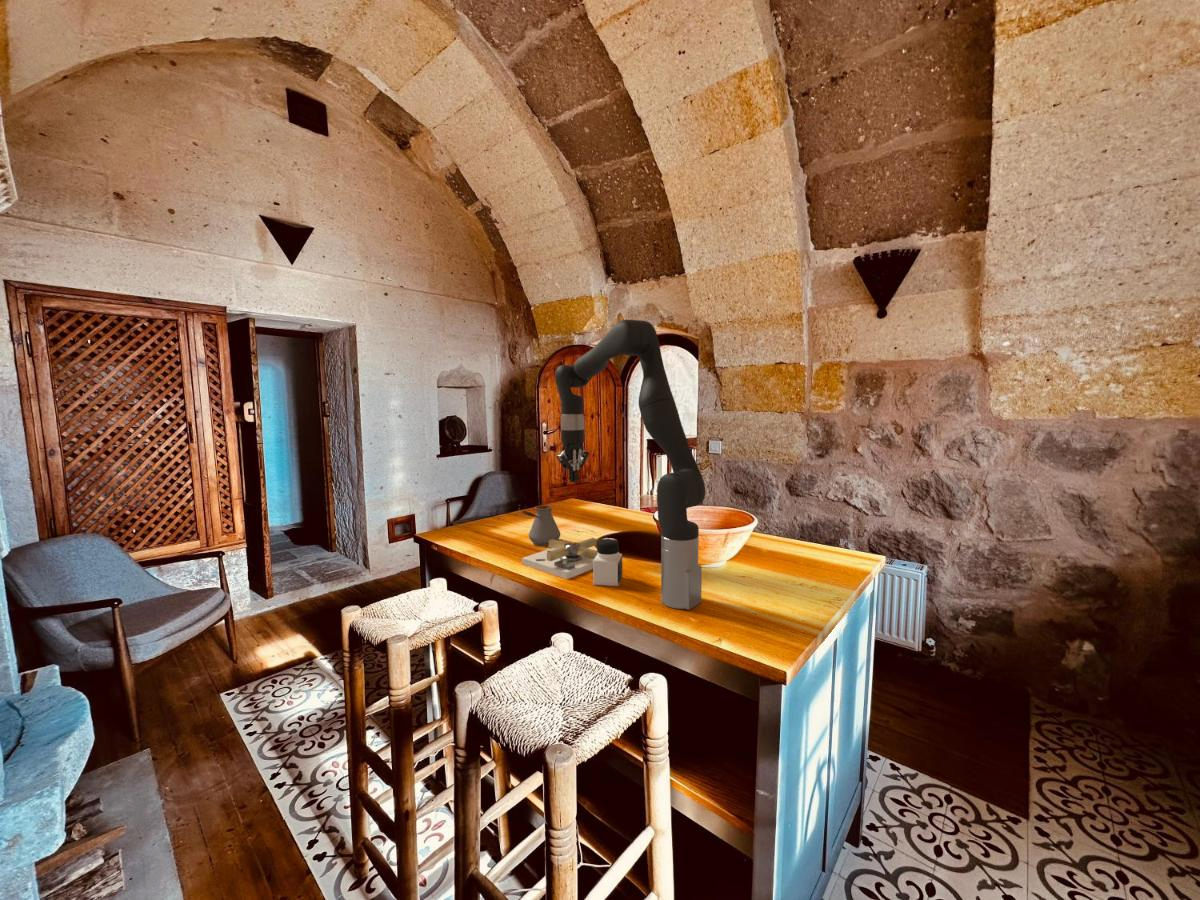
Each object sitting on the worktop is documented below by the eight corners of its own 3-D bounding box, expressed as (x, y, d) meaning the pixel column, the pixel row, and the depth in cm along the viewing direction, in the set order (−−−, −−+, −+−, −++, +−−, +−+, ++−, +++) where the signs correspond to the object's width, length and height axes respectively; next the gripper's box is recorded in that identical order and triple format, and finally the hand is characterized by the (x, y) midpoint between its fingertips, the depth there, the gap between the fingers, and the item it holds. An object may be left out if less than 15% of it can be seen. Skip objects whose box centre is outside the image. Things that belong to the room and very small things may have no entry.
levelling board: (609, 562, 156) (609, 550, 155) (566, 579, 142) (566, 566, 141) (565, 549, 169) (565, 539, 168) (522, 564, 155) (521, 552, 154)
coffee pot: (538, 536, 185) (536, 497, 183) (566, 539, 181) (565, 499, 179) (507, 554, 165) (506, 510, 163) (538, 557, 161) (537, 512, 159)
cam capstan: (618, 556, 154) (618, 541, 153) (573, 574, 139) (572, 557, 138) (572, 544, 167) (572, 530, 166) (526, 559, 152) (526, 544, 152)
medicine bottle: (618, 586, 136) (618, 544, 134) (593, 585, 137) (592, 543, 136) (622, 577, 142) (622, 536, 141) (598, 575, 144) (597, 535, 143)
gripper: (566, 430, 150) (567, 486, 152) (595, 427, 160) (596, 480, 162) (549, 429, 155) (550, 483, 157) (578, 426, 165) (579, 477, 167)
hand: (573, 481), depth 160 cm, fingers closed
